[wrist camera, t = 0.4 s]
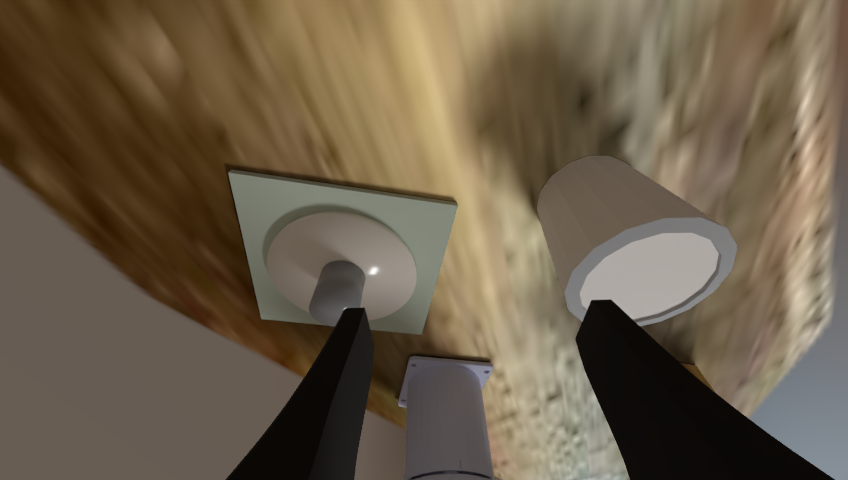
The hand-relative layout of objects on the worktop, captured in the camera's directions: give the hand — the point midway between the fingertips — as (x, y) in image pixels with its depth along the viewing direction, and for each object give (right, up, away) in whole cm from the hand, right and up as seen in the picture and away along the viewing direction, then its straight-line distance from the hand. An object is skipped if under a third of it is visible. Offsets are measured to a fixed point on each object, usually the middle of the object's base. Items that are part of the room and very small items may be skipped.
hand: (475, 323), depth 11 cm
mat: (-7, +1, +12) cm, 14 cm away
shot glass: (+8, +5, +9) cm, 13 cm away
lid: (-7, +1, +12) cm, 14 cm away
